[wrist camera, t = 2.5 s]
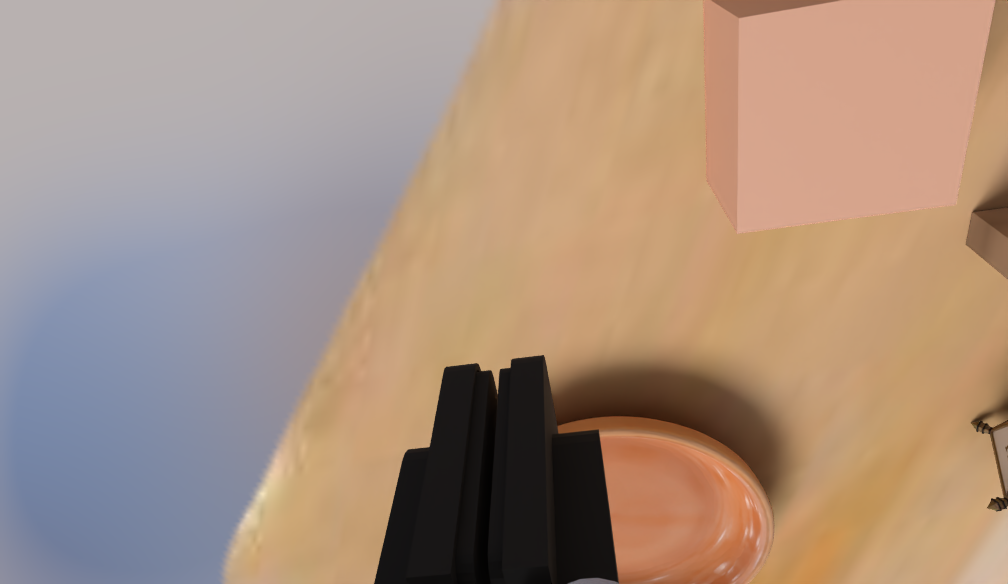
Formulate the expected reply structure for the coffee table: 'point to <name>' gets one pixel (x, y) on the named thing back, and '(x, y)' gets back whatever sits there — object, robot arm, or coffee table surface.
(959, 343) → the coffee table surface
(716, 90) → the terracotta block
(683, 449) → the saucer
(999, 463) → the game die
